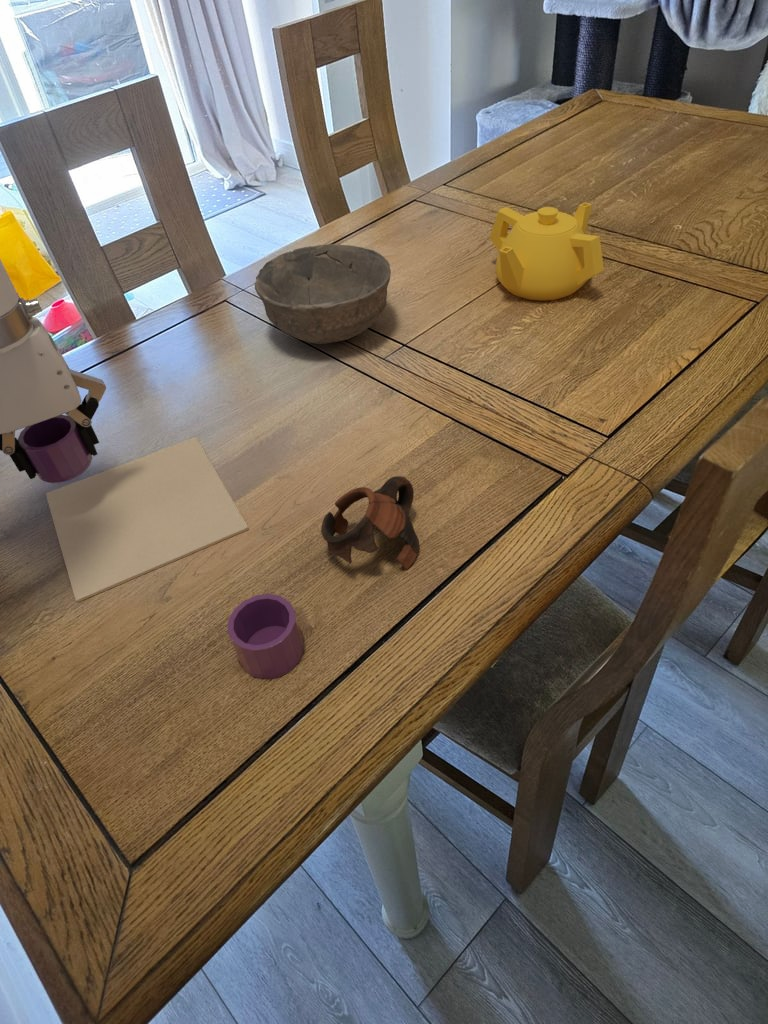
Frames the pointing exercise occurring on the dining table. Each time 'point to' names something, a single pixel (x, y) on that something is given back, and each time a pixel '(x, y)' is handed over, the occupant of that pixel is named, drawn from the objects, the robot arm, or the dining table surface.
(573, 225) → the teapot
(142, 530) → the placemat
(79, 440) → the purple cup
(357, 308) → the bowl
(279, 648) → the purple hollow cylinder
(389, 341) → the dining table surface
